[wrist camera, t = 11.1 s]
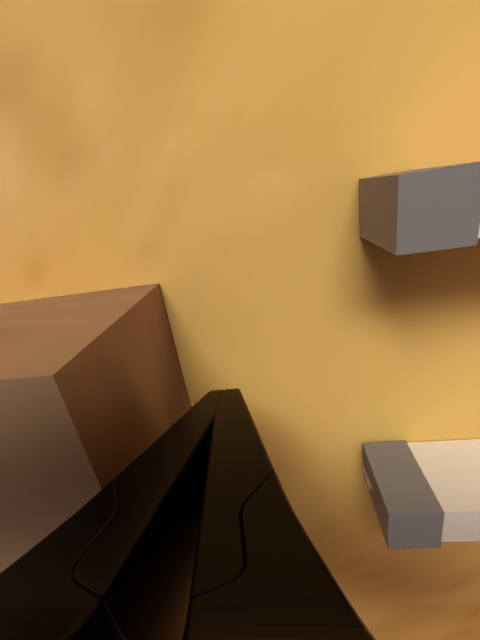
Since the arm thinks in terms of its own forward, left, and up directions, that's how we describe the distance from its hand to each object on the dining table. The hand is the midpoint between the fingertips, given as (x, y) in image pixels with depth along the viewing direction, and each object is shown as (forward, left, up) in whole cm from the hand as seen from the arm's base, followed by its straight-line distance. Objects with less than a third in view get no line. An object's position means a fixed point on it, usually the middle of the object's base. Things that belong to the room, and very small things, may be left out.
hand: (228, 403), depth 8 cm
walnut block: (0, +5, -2) cm, 5 cm away
